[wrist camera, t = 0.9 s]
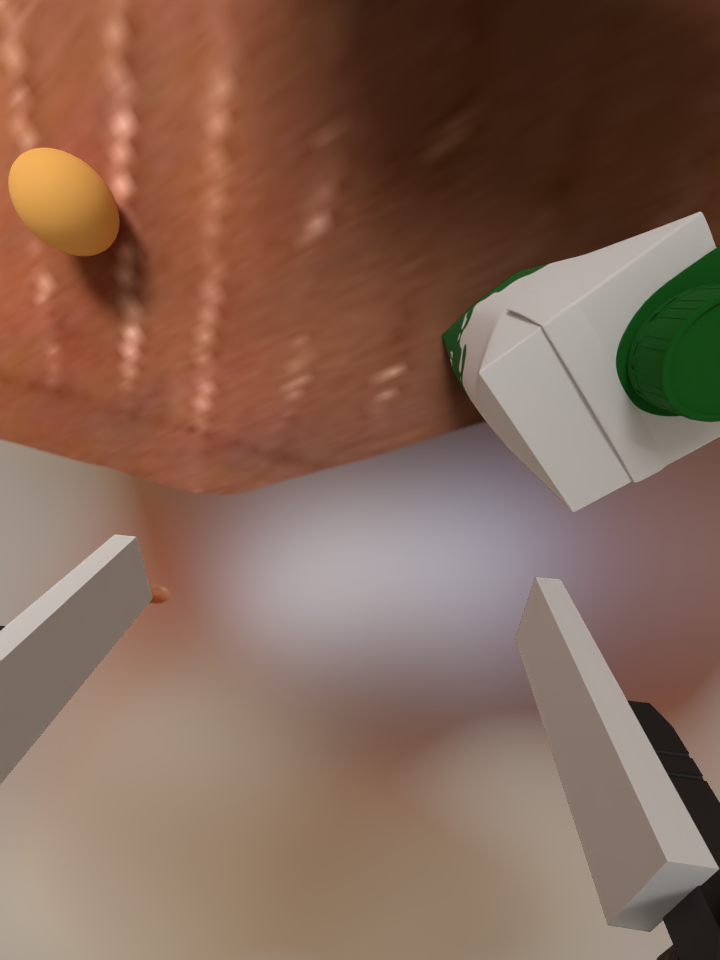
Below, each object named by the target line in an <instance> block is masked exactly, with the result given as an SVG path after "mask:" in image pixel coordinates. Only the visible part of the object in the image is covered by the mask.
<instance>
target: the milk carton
mask: <svg viewBox="0 0 720 960" xmlns="http://www.w3.org/2000/svg"><path fill="white" fill-rule="evenodd" d="M442 337H443V340H444V343H445V347H446V350H447V353H448V356H449V359H450V363H451V366H452V369H453V372H454V374H455V376H456V378H457V380H458V381H459V383H460V385H461V387H462V388H463V390H464V392H465V393H466V395H467V396H468V397H469V399H470V400H471V402H472V403H473V404H474V406H475V407H476V409H477V410H478V411H479V413H480V414H481V415H482V417H483V418H484V420H485V421H486V422H487V424H488V425H489V426H490V427H491V429H493V431H494V432H495V433H496V434H497V435H498V437H499V438H500V439H501V440H502V442H503V443H504V444H505V445H506V446H507V447H508V448H509V449H510V451H511V452H512V453H513V454H514V455H515V456H516V457H517V458H518V459H519V460H520V461H521V462H522V463H523V464H525V465H526V466H527V467H528V468H529V469H530V470H531V471H532V472H533V473H534V474H535V475H536V476H537V477H538V478H539V479H540V480H541V481H542V482H543V483H544V484H545V485H546V486H547V487H548V488H549V489H550V490H551V491H552V492H554V494H555V495H556V496H557V497H558V498H559V499H560V500H561V501H562V502H563V503H564V504H565V505H566V506H567V507H568V508H569V509H570V510H571V511H572V512H576V511H577V510H579V509H581V508H583V507H585V506H587V505H589V504H591V503H593V502H595V501H596V500H598V499H600V498H602V497H604V496H606V495H608V494H609V493H611V492H613V491H615V490H617V489H619V488H620V487H623V486H624V485H626V484H628V483H630V482H634V483H637V482H640V481H642V480H644V479H646V478H648V477H650V476H651V475H653V474H655V473H657V472H659V471H661V470H662V469H663V468H664V467H665V466H667V465H668V464H670V463H672V462H674V461H676V460H678V459H680V458H682V457H683V456H685V455H687V454H689V453H691V452H693V451H694V450H696V449H698V448H700V447H702V446H704V445H705V444H707V443H709V442H711V441H713V440H715V439H717V438H718V437H720V246H718V247H717V248H716V246H715V243H714V240H713V237H712V235H711V232H710V229H709V226H708V224H707V222H706V219H705V217H704V215H703V213H702V212H698V213H695V214H692V215H690V216H687V217H685V218H682V219H679V220H677V221H674V222H671V223H669V224H666V225H663V226H661V227H658V228H655V229H653V230H650V231H648V232H645V233H642V234H640V235H637V236H634V237H631V238H629V239H626V240H623V241H621V242H618V243H615V244H613V245H610V246H607V247H604V248H602V249H599V250H596V251H593V252H591V253H588V254H585V255H581V256H578V257H574V258H569V259H565V260H561V261H558V262H554V263H550V264H546V265H542V266H538V267H534V268H530V269H526V270H522V271H519V272H517V273H516V274H514V275H512V276H511V277H509V278H508V279H507V280H505V281H504V282H503V283H501V284H500V285H499V286H497V287H496V288H495V289H493V290H492V291H491V292H490V293H488V294H487V295H486V296H484V297H483V298H482V299H480V300H479V301H478V302H477V303H475V304H474V305H473V306H472V307H471V308H470V309H469V310H467V311H466V312H465V313H464V314H463V315H462V316H461V317H460V318H459V319H458V320H457V321H456V322H455V323H454V324H453V325H452V326H451V327H450V328H449V329H448V330H447V331H446V332H445V333H444V334H442Z"/></svg>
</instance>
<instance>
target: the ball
mask: <svg viewBox="0 0 720 960" xmlns="http://www.w3.org/2000/svg"><path fill="white" fill-rule="evenodd" d="M9 192H10V196H11V199H12V202H13V205H14V207H15V209H16V211H17V213H18V215H19V216H20V218H21V219H22V221H23V222H24V223H25V225H26V226H27V227H28V228H29V229H30V230H31V231H32V232H33V233H34V234H35V235H36V236H37V237H38V238H39V239H41V240H42V241H43V242H45V243H46V244H48V245H50V246H51V247H53V248H55V249H57V250H59V251H62V252H64V253H67V254H71V255H76V256H91V255H96V254H99V253H101V252H103V251H105V250H106V249H108V248H109V247H110V246H111V245H112V244H113V242H114V241H115V239H116V237H117V234H118V230H119V212H118V208H117V204H116V201H115V199H114V197H113V195H112V193H111V191H110V189H109V188H108V186H107V185H106V183H105V182H104V181H103V179H102V178H101V177H100V176H99V175H98V174H97V173H96V172H95V171H94V170H93V169H92V168H91V167H90V166H89V165H87V164H86V163H85V162H83V161H82V160H80V159H79V158H77V157H75V156H73V155H71V154H69V153H67V152H64V151H61V150H58V149H52V148H36V149H32V150H29V151H27V152H24V153H23V154H21V155H20V156H19V157H18V158H17V159H16V160H15V162H14V163H13V165H12V167H11V170H10V174H9Z"/></svg>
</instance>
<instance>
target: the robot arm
mask: <svg viewBox="0 0 720 960" xmlns="http://www.w3.org/2000/svg"><path fill="white" fill-rule="evenodd" d="M152 598H153V597H152V593H151V590H150V586H149V582H148V579H147V575H146V571H145V567H144V564H143V560H142V556H141V552H140V549H139V545H138V541H137V538H136V537H134V536H124V535H114V536H113V537H111V538H110V539H109V540H108V541H107V542H106V543H104V544H103V545H102V546H101V547H99V548H98V549H97V550H96V551H95V552H94V553H92V554H91V555H90V556H89V557H88V558H86V559H85V560H84V561H83V562H82V563H80V564H79V565H78V566H77V567H76V568H74V569H73V570H72V571H71V572H70V573H69V574H68V575H66V576H65V577H64V578H63V579H61V580H60V581H59V582H58V583H57V584H55V585H54V586H53V587H52V588H51V589H50V590H48V591H47V592H46V593H45V594H44V595H42V596H41V597H40V598H39V599H38V600H36V601H35V602H34V603H33V604H32V605H30V606H29V607H28V608H27V609H26V610H25V611H23V612H22V613H21V614H20V615H19V616H18V617H16V618H15V619H14V620H13V621H11V622H10V623H9V624H8V625H7V626H6V627H5V626H0V784H1V783H2V782H3V780H4V779H5V778H6V777H7V776H8V775H9V773H10V772H11V771H12V770H13V768H14V767H15V766H16V765H17V763H18V762H19V761H20V760H21V759H22V757H23V756H24V755H25V754H26V752H27V751H28V750H29V749H30V747H31V746H32V745H33V744H34V743H35V742H36V740H37V739H38V738H39V737H40V735H41V734H42V733H43V731H45V729H46V728H47V727H48V725H49V724H50V723H51V722H52V721H53V720H54V718H55V717H56V716H57V715H58V713H59V712H60V711H61V710H62V709H63V707H64V706H65V705H66V703H67V702H68V701H69V700H70V699H71V697H72V696H73V695H74V694H75V693H76V691H77V690H78V689H79V688H80V686H81V685H82V684H83V683H84V682H85V680H86V679H87V678H88V677H89V676H90V674H91V673H92V672H93V671H94V669H95V668H96V667H97V666H98V664H99V663H100V662H101V661H102V659H103V658H104V657H105V656H106V655H107V653H108V652H109V651H110V650H111V649H112V647H113V646H114V645H115V644H116V642H117V641H118V640H119V639H120V637H121V636H122V635H123V634H124V633H125V631H126V630H127V629H128V628H129V627H130V625H131V624H132V622H134V620H135V619H136V618H137V617H138V616H139V614H140V613H141V612H142V611H143V609H144V608H145V607H146V606H147V604H148V603H149V602H150V601H151V600H152ZM515 640H516V643H517V646H518V649H519V652H520V655H521V658H522V661H523V664H524V668H525V671H526V674H527V677H528V680H529V683H530V686H531V689H532V692H533V695H534V698H535V702H536V705H537V708H538V711H539V714H540V717H541V720H542V723H543V726H544V729H545V732H546V735H547V739H548V742H549V745H550V748H551V751H552V754H553V757H554V760H555V763H556V766H557V769H558V773H559V776H560V779H561V782H562V785H563V788H564V791H565V794H566V797H567V801H568V804H569V807H570V810H571V813H572V816H573V819H574V822H575V825H576V828H577V831H578V834H579V838H580V841H581V844H582V847H583V850H584V853H585V856H586V859H587V862H588V865H589V869H590V872H591V874H592V878H593V881H594V884H595V887H596V890H597V893H598V896H599V899H600V903H601V906H602V909H603V911H604V915H605V918H606V921H607V924H608V925H610V926H616V927H623V928H629V929H635V930H641V931H648V932H651V931H652V930H653V929H654V928H655V927H656V926H657V925H658V924H659V923H660V922H662V921H664V923H665V925H666V928H667V930H668V933H669V935H670V938H671V940H672V942H673V945H672V946H671V947H670V948H669V949H667V950H666V951H665V952H664V953H663V954H661V955H660V956H659V957H658V958H657V960H720V803H719V801H718V800H717V798H716V796H715V794H714V793H713V791H712V790H711V788H710V786H709V785H708V783H707V781H704V780H703V777H702V776H703V775H702V774H701V772H700V770H699V769H698V767H697V765H696V764H695V762H694V761H693V759H692V758H690V757H689V752H688V751H687V749H686V748H685V746H684V744H683V743H682V741H681V740H680V738H679V736H678V735H677V733H676V732H675V730H674V728H673V727H672V726H671V725H670V724H669V723H668V722H667V721H666V720H665V719H664V717H663V716H662V715H661V714H660V713H659V712H658V711H657V710H656V709H655V708H654V707H653V706H652V705H651V704H650V703H643V702H634V701H627V700H626V698H625V696H624V694H623V692H622V691H621V689H620V687H619V685H618V683H617V681H616V680H615V678H614V676H613V674H612V672H611V670H610V669H609V667H608V665H607V663H606V661H605V660H604V658H603V656H602V654H601V652H600V650H599V649H598V647H597V645H596V643H595V641H594V639H593V638H592V636H591V634H590V632H589V630H588V629H587V627H586V625H585V623H584V621H583V619H582V618H581V616H580V614H579V612H578V610H577V609H576V607H575V605H574V603H573V601H572V600H571V597H570V596H569V594H568V592H567V590H566V588H565V587H564V585H563V583H562V581H561V579H554V578H544V577H535V579H534V582H533V585H532V589H531V591H530V594H529V598H528V601H527V604H526V607H525V610H524V613H523V616H522V619H521V622H520V625H519V628H518V631H517V635H516V638H515Z"/></svg>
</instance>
